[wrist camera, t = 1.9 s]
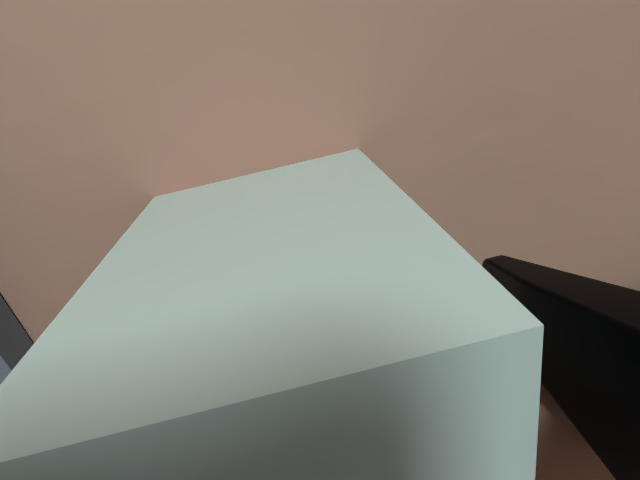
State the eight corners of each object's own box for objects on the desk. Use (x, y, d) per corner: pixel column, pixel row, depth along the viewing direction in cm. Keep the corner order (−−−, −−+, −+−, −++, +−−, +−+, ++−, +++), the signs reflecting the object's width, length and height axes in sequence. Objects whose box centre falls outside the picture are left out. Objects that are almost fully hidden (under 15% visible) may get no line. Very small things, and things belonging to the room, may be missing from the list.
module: (389, 339, 12) (525, 648, 6) (230, 379, 12) (190, 740, 6) (358, 148, 9) (544, 325, 3) (154, 196, 9) (-79, 482, 3)
